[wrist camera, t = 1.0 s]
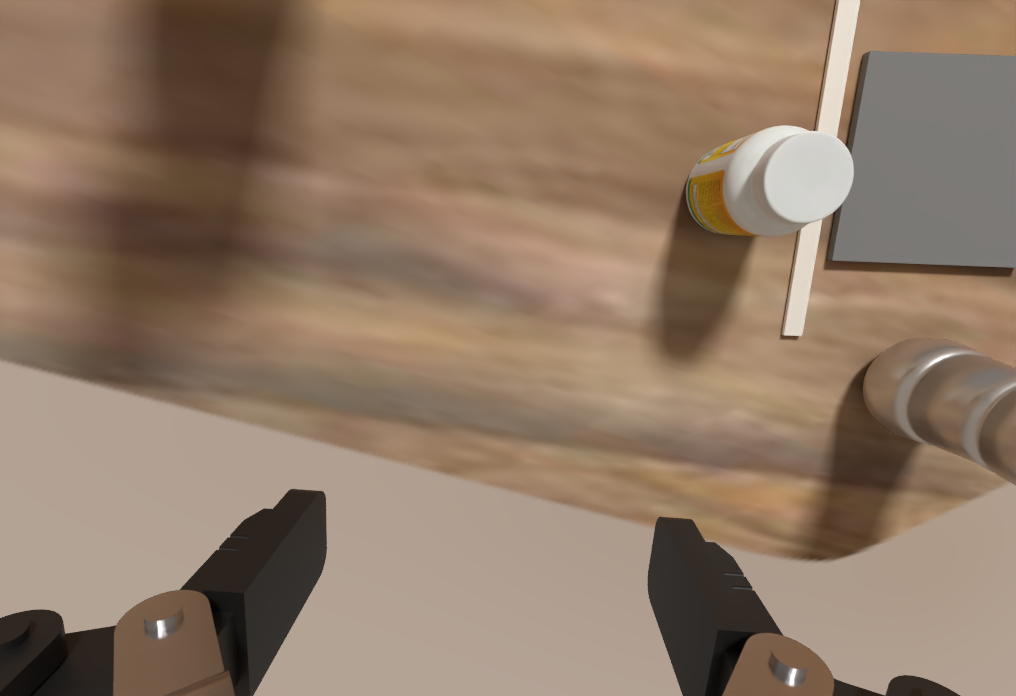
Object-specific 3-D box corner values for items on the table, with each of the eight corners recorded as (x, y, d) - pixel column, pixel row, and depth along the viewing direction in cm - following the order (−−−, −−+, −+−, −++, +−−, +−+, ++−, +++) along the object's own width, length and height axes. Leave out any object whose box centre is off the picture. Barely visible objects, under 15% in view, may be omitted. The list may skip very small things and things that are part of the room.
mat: (863, 54, 30) (870, 51, 30) (1068, 61, 30) (1079, 58, 30) (826, 259, 33) (832, 260, 32) (1014, 267, 33) (1024, 268, 32)
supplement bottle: (710, 130, 31) (790, 89, 22) (785, 168, 32) (896, 144, 23) (667, 213, 33) (727, 207, 23) (741, 248, 33) (828, 257, 24)
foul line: (837, -5, 30) (840, -7, 29) (857, -4, 30) (861, -6, 29) (781, 334, 34) (783, 335, 34) (799, 335, 34) (802, 336, 34)
